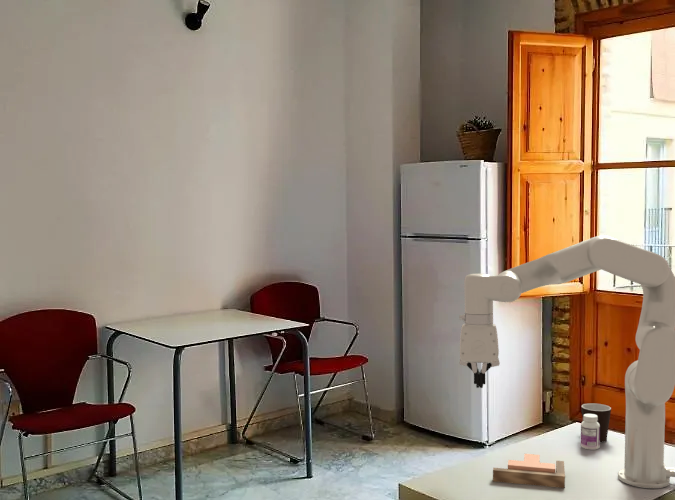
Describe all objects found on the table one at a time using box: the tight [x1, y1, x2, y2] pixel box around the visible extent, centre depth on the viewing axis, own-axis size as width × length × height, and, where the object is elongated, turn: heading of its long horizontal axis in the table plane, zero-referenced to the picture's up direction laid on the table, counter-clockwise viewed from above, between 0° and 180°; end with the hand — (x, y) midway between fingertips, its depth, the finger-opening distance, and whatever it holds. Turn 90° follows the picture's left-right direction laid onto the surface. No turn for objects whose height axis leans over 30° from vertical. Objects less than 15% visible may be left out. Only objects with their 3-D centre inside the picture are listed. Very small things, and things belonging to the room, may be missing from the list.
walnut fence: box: [492, 460, 566, 489], centre depth 203 cm, size 18×12×3 cm, turn 75°
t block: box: [507, 453, 556, 473], centre depth 205 cm, size 12×10×4 cm
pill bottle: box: [580, 414, 601, 451], centre depth 228 cm, size 5×5×10 cm
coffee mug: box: [580, 403, 612, 443], centre depth 237 cm, size 12×9×10 cm
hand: (479, 386), depth 208 cm, fingers closed
